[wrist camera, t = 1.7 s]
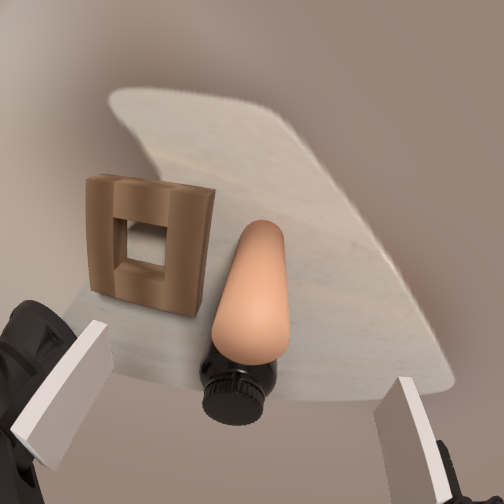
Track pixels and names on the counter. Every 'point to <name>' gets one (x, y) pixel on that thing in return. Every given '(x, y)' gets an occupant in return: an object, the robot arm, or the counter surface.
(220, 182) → the counter surface
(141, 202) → the socket block
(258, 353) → the dowel
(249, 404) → the supplement bottle
